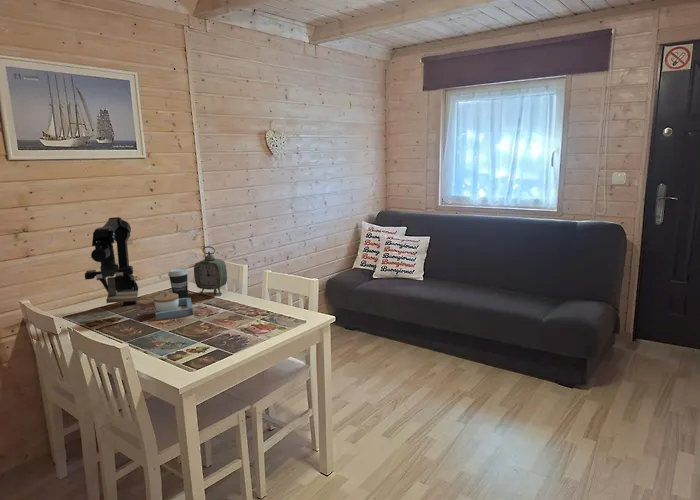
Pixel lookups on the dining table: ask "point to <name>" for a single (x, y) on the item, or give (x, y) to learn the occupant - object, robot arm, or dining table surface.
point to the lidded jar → (166, 302)
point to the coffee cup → (179, 282)
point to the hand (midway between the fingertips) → (112, 291)
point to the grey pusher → (119, 293)
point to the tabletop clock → (210, 273)
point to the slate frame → (178, 312)
